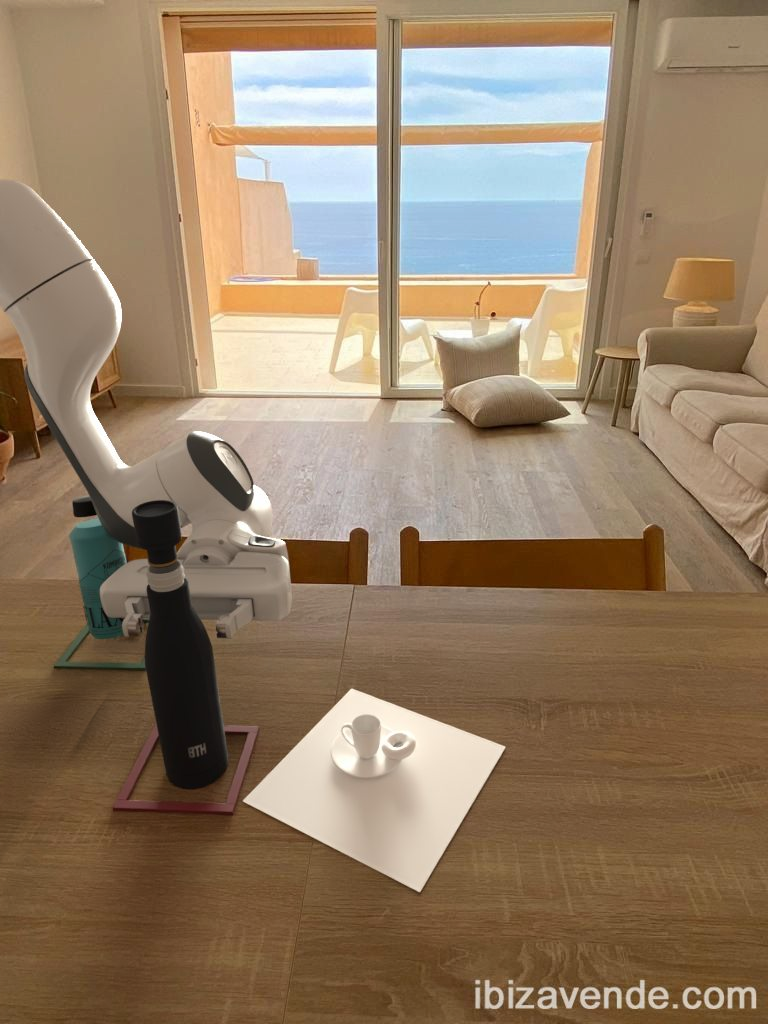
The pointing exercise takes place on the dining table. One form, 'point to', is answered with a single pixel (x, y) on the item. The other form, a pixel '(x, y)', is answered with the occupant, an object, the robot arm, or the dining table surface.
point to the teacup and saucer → (379, 785)
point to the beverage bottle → (95, 567)
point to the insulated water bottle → (179, 658)
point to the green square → (94, 665)
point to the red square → (187, 807)
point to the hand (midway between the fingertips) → (176, 631)
